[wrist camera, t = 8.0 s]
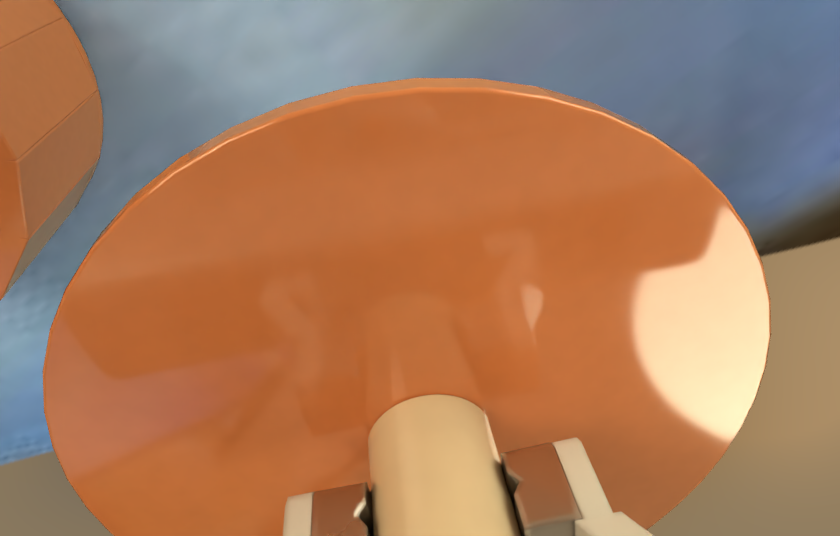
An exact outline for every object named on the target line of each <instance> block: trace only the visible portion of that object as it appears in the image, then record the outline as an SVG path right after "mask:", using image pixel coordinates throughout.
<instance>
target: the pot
mask: <svg viewBox="0 0 840 536" xmlns="http://www.w3.org/2000/svg"><path fill="white" fill-rule="evenodd" d="M102 141H103V114H102V105H101V98H100V94H99V90H98V86H97V82H96V78H95V75H94V72H93V70H92V67H91V65H90V62H89V60H88V57H87V55H86V52H85V50H84V48H83V46H82V45H81V43H80V41H79V39H78V37H77V35H76V33H75V32H74V30H73V28H72V26H71V25H70V23H69V22H68V21H67V19H66V18H65V16H64V15H63V13H62V12H61V10H60V9H59V7H58V6H57V4H56V3H55V2H54V1H53V0H0V301H1V299H2V298H3V297H4V296H5V295H6V294H7V292H8V291H9V290H10V289H11V287H12V286H13V285H14V284H15V282H16V281H17V280H18V278H19V277H20V276H21V275H22V273H23V272H24V271H25V270H26V268H27V267H28V266H29V265H30V263H31V262H32V261H33V260H34V258H35V257H36V256H37V255H38V253H39V252H40V251H41V250H42V248H43V247H44V246H45V245H46V243H47V242H48V241H49V240H50V238H51V237H52V236H53V234H54V233H55V232H56V231H57V229H58V228H59V227H60V226H61V224H62V223H63V222H64V221H65V219H66V218H67V217H68V216H69V214H70V213H71V212H72V211H73V209H74V208H75V207H76V206H77V204H78V202H79V200H80V198H81V196H82V194H83V192H84V190H85V188H86V187H87V185H88V183H89V181H90V180H91V178H92V176H93V174H94V171H95V169H96V166H97V163H98V160H99V158H100V152H101V146H102Z"/></svg>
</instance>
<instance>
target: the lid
mask: <svg viewBox="0 0 840 536" xmlns="http://www.w3.org/2000/svg"><path fill="white" fill-rule="evenodd" d="M770 337H771V310H770V296H769V291H768V287H767V282H766V278H765V273H764V268H763V264H762V261H761V258H760V256H759V254H758V251H757V249H756V247H755V244H754V242H753V240H752V237H751V235H750V233H749V230H748V228H747V226H746V225H745V224H744V222H743V221H742V219H741V218H740V216H739V215H738V213H737V212H736V210H735V209H734V207H733V206H732V205H731V203H730V202H729V200H728V199H727V197H726V196H725V194H724V193H723V192H722V191H721V190H720V189H719V188H718V187H717V186H716V185H715V184H714V183H713V182H712V181H711V180H710V179H709V178H708V177H707V176H706V175H705V174H704V173H703V172H702V171H701V170H700V169H699V168H698V167H697V166H696V165H695V164H694V163H692V162H691V161H690V160H689V159H687V158H686V157H685V156H683V155H682V154H681V153H680V152H678V151H677V150H675V149H674V148H672V147H671V146H669V145H668V144H667V143H665V142H664V141H662V140H661V139H659V138H658V137H656V136H655V135H654V134H652V133H651V132H649V131H648V130H646V129H645V128H643V127H642V126H640V125H639V124H637V123H634V122H632V121H630V120H628V119H626V118H624V117H622V116H620V115H617V114H615V113H613V112H611V111H609V110H607V109H605V108H603V107H600V106H598V105H596V104H594V103H591V102H588V101H585V100H581V99H578V98H574V97H571V96H568V95H564V94H561V93H557V92H554V91H551V90H547V89H544V88H540V87H536V86H529V85H522V84H515V83H508V82H501V81H494V80H487V79H480V78H413V79H405V80H397V81H389V82H382V83H374V84H366V85H358V86H351V87H348V88H344V89H340V90H336V91H333V92H329V93H325V94H321V95H318V96H314V97H310V98H306V99H303V100H299V101H295V102H291V103H288V104H286V105H284V106H281V107H279V108H276V109H274V110H272V111H269V112H267V113H264V114H262V115H260V116H257V117H255V118H252V119H250V120H248V121H245V122H243V123H240V124H238V125H236V126H233V127H231V128H229V129H228V130H226V131H224V132H223V133H221V134H219V135H218V136H216V137H214V138H212V139H211V140H209V141H207V142H206V143H204V144H202V145H201V146H199V147H197V148H196V149H194V150H192V151H191V152H189V153H187V154H186V155H184V156H182V157H180V158H179V159H178V160H177V161H175V162H174V163H173V164H172V165H170V166H169V167H168V168H167V169H165V170H164V171H163V172H162V173H161V174H159V175H158V176H157V177H156V178H154V179H153V180H152V181H151V182H150V183H148V184H147V185H146V186H145V187H143V188H142V189H141V190H140V191H139V192H137V193H136V194H135V195H134V196H133V197H132V199H131V200H130V201H129V202H128V203H127V204H126V205H125V206H124V208H123V209H122V210H121V211H120V212H119V213H118V214H117V215H116V217H115V218H114V219H113V220H112V221H111V222H110V223H109V224H108V226H107V227H106V228H105V229H104V230H103V231H102V232H101V234H100V235H99V237H98V238H97V240H96V241H95V243H94V244H93V246H92V247H91V249H90V250H89V252H88V254H87V255H86V257H85V258H84V260H83V262H82V263H81V265H80V267H79V268H78V270H77V271H76V273H75V275H74V276H73V278H72V279H71V281H70V283H69V284H68V286H67V287H66V289H65V292H64V294H63V297H62V300H61V302H60V305H59V307H58V310H57V313H56V315H55V318H54V320H53V323H52V326H51V328H50V331H49V337H48V343H47V349H46V355H45V361H44V366H43V393H44V413H45V417H46V421H47V425H48V430H49V434H50V438H51V442H52V446H53V449H54V451H55V453H56V455H57V457H58V460H59V462H60V464H61V466H62V469H63V471H64V473H65V475H66V477H67V480H68V481H69V482H70V484H71V485H72V487H73V488H74V490H75V491H76V493H77V494H78V496H79V497H80V498H81V500H82V502H83V503H84V504H85V506H86V507H87V509H88V510H89V511H90V512H91V513H92V514H93V515H94V516H95V517H96V518H97V519H98V520H99V521H100V522H101V523H102V524H103V525H104V527H105V528H106V529H107V530H108V531H109V532H110V533H111V534H113V535H114V536H283V525H284V512H285V505H286V502H287V499H288V497H290V496H295V495H300V494H304V493H309V492H314V491H321V490H326V489H331V488H337V487H342V486H347V485H353V484H358V483H364V482H367V484H368V486H369V489H370V492H371V507H372V526H373V536H522V534H521V531H520V527H519V524H518V520H517V517H516V511H515V508H514V504H513V501H512V498H511V495H510V493H509V489H508V486H507V482H506V479H505V475H504V472H503V468H502V465H501V453H503V452H508V451H512V450H517V449H521V448H526V447H530V446H535V445H539V444H543V443H548V442H550V443H552V442H557V441H561V440H565V439H570V438H574V437H577V438H578V439H579V440H580V441H581V442H582V445H583V447H584V449H585V451H586V453H587V456H588V458H589V460H590V462H591V465H592V467H593V469H594V471H595V473H596V476H597V478H598V480H599V482H600V485H601V487H602V489H603V491H604V493H605V496H606V498H607V500H608V502H609V505H610V507H611V509H612V511H613V513H614V512H623V513H624V514H625V515H627V516H628V517H629V518H631V519H632V520H633V521H635V522H636V523H637V524H639V525H640V526H641V527H643V528H644V529H645V530H647V529H648V528H650V527H651V526H653V525H654V524H655V523H656V522H657V521H659V520H660V519H661V518H663V517H664V516H665V515H666V514H667V513H669V512H670V511H671V510H672V509H673V508H675V507H676V506H677V505H678V504H679V503H680V502H681V501H682V500H683V499H684V498H686V497H687V496H688V494H689V493H691V492H692V491H693V490H694V489H695V488H696V487H697V486H698V485H699V484H700V483H701V482H702V481H703V479H704V478H705V477H706V476H707V475H708V473H709V472H710V471H711V470H712V468H713V467H714V466H715V465H716V464H717V463H718V461H719V460H720V459H721V458H722V456H723V455H724V453H725V452H726V451H727V449H728V447H729V446H730V445H731V443H732V441H733V440H734V438H735V437H736V435H737V434H738V432H739V431H740V429H741V428H742V425H743V424H744V422H745V419H746V417H747V415H748V413H749V411H750V409H751V407H752V405H753V403H754V401H755V399H756V396H757V393H758V390H759V387H760V384H761V380H762V378H763V374H764V371H765V368H766V363H767V357H768V350H769V344H770Z"/></svg>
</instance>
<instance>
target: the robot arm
mask: <svg viewBox="0 0 840 536" xmlns="http://www.w3.org/2000/svg"><path fill="white" fill-rule="evenodd" d="M501 465H502V468H503V472H504V475H505V479H506V482H507V486H508V489H509V493H510V495H511V498H512V501H513V504H514V508H515V511H516V517H517V520H518V524H519V527H520V531H521V534H522V536H653V535H652V534H651V533H649V532H648V531H647V530H645V529H644V528H643V527H641V526H640V525H639V524H637V523H636V522H635V521H633V520H632V519H631V518H629V517H628V516H627V515H625V514H624V513H623V512H614V513H613V511H612V509H611V507H610V505H609V502H608V500H607V498H606V496H605V493H604V491H603V489H602V487H601V485H600V482H599V480H598V478H597V476H596V473H595V471H594V469H593V467H592V465H591V462H590V460H589V458H588V456H587V453H586V451H585V449H584V447H583V445H582V442H581V441H580V440H579V439H578V438H577V437H574V438H570V439H565V440H561V441H557V442H552V443H550V442H548V443H543V444H539V445H535V446H530V447H526V448H521V449H517V450H512V451H508V452H503V453H501ZM283 536H373V526H372V507H371V492H370V489H369V486H368V484H367V482H364V483H358V484H353V485H347V486H342V487H337V488H331V489H326V490H321V491H314V492H309V493H304V494H300V495H295V496H290V497H288V499H287V502H286V505H285V512H284V525H283Z"/></svg>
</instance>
